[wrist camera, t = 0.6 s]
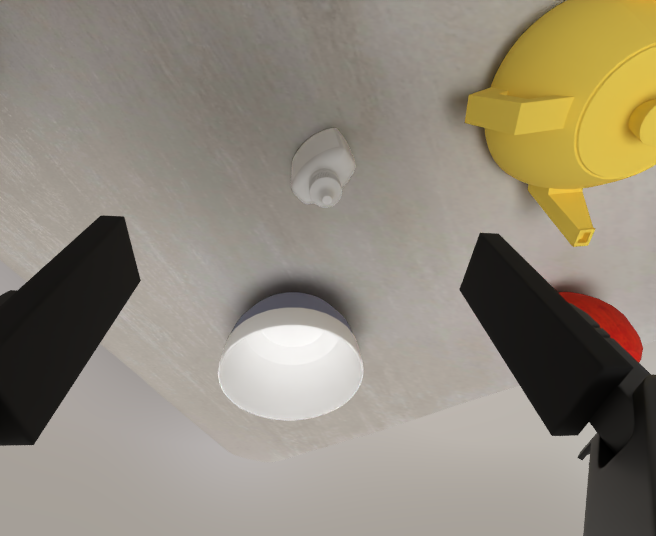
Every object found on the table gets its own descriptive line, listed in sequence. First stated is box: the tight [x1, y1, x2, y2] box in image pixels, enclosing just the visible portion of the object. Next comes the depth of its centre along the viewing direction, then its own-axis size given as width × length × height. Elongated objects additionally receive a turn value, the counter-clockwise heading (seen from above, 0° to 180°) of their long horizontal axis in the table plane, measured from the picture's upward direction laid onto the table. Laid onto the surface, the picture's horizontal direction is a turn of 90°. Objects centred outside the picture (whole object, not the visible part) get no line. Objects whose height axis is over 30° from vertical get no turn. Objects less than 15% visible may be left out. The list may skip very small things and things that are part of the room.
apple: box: [558, 292, 643, 362], centre depth 43 cm, size 10×10×12 cm
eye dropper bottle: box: [291, 128, 356, 208], centre depth 29 cm, size 4×6×12 cm
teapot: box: [465, 0, 656, 247], centre depth 28 cm, size 17×17×12 cm
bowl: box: [218, 292, 364, 421], centre depth 42 cm, size 16×16×10 cm
